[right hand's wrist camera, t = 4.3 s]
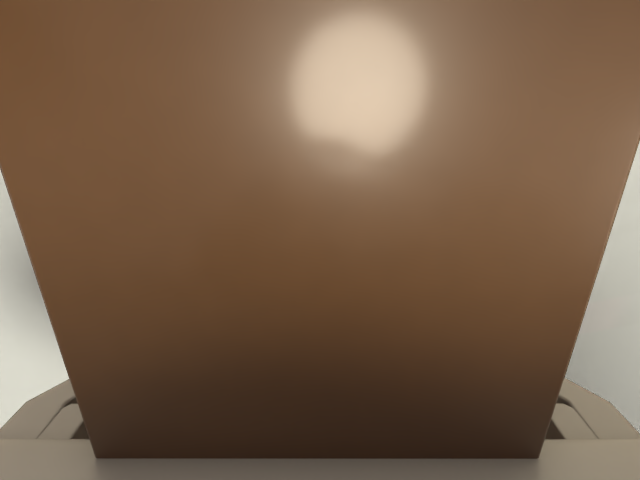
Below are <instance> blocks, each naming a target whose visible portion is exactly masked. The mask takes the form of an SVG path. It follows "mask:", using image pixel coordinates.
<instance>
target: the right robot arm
mask: <svg viewBox="0 0 640 480" xmlns="http://www.w3.org/2000/svg"><path fill="white" fill-rule="evenodd" d="M0 480H640V434H639V433H638V432H637V430H636V429H635V428H634V427H633V426H632V425H631V424H630V423H629V422H628V421H627V420H626V419H625V418H624V417H623V416H622V415H621V413H620V412H619V411H618V410H617V409H616V408H615V407H614V406H613V405H612V404H611V403H610V402H608V401H606V400H605V399H603V398H601V397H599V396H597V395H595V394H593V393H592V392H590V391H588V390H586V389H584V388H582V387H580V386H579V385H577V384H575V383H573V382H571V381H569V380H567V379H566V378H564V380H563V384H562V387H561V390H560V393H559V396H558V399H557V402H556V406H555V409H554V412H553V415H552V418H551V421H550V424H549V428H548V431H547V434H546V437H545V440H544V443H543V446H542V450H541V453H540V456H539V458H537V459H103V458H95V455H94V452H93V449H92V446H91V443H90V440H89V437H88V434H87V431H86V428H85V424H84V421H83V418H82V415H81V412H80V409H79V406H78V403H77V400H76V397H75V394H74V391H73V388H72V385H71V382H70V379H68V380H67V381H65V382H63V383H61V384H59V385H57V386H55V387H53V388H51V389H50V390H48V391H46V392H44V393H42V394H40V395H38V396H36V397H35V398H33V399H31V400H29V401H27V402H26V403H25V404H24V405H23V406H22V407H21V408H20V409H19V410H18V411H17V412H16V413H15V414H14V415H13V416H12V417H11V418H10V419H9V420H8V421H7V423H6V424H5V425H4V426H3V427H2V428H1V429H0Z"/></svg>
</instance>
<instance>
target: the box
mask: <svg viewBox="0 0 640 480" xmlns="http://www.w3.org/2000/svg"><path fill="white" fill-rule="evenodd" d="M639 141H640V0H0V169H1V172H2V175H3V178H4V181H5V184H6V187H7V190H8V193H9V196H10V200H11V203H12V206H13V209H14V212H15V215H16V218H17V221H18V224H19V227H20V230H21V233H22V236H23V239H24V242H25V245H26V248H27V251H28V254H29V257H30V260H31V263H32V266H33V269H34V272H35V276H36V279H37V282H38V285H39V288H40V291H41V294H42V297H43V300H44V303H45V306H46V309H47V312H48V315H49V318H50V321H51V324H52V327H53V330H54V333H55V336H56V339H57V342H58V345H59V348H60V352H61V355H62V358H63V361H64V364H65V367H66V370H67V373H68V376H69V379H70V382H71V385H72V388H73V391H74V394H75V397H76V400H77V403H78V406H79V409H80V412H81V415H82V418H83V421H84V424H85V428H86V431H87V434H88V437H89V440H90V443H91V446H92V449H93V452H94V455H95V458H103V459H537V458H539V456H540V453H541V450H542V446H543V443H544V440H545V437H546V434H547V431H548V428H549V424H550V421H551V418H552V415H553V412H554V409H555V406H556V402H557V399H558V396H559V393H560V390H561V387H562V384H563V380H564V377H565V374H566V371H567V368H568V365H569V361H570V358H571V355H572V352H573V349H574V346H575V343H576V339H577V336H578V333H579V330H580V327H581V324H582V321H583V317H584V314H585V311H586V308H587V305H588V302H589V298H590V295H591V292H592V289H593V286H594V283H595V280H596V276H597V273H598V270H599V267H600V264H601V261H602V258H603V254H604V251H605V248H606V245H607V242H608V239H609V235H610V232H611V229H612V226H613V223H614V220H615V217H616V213H617V210H618V207H619V204H620V201H621V198H622V195H623V191H624V188H625V185H626V182H627V179H628V176H629V173H630V169H631V166H632V163H633V160H634V157H635V154H636V150H637V147H638V144H639Z"/></svg>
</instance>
